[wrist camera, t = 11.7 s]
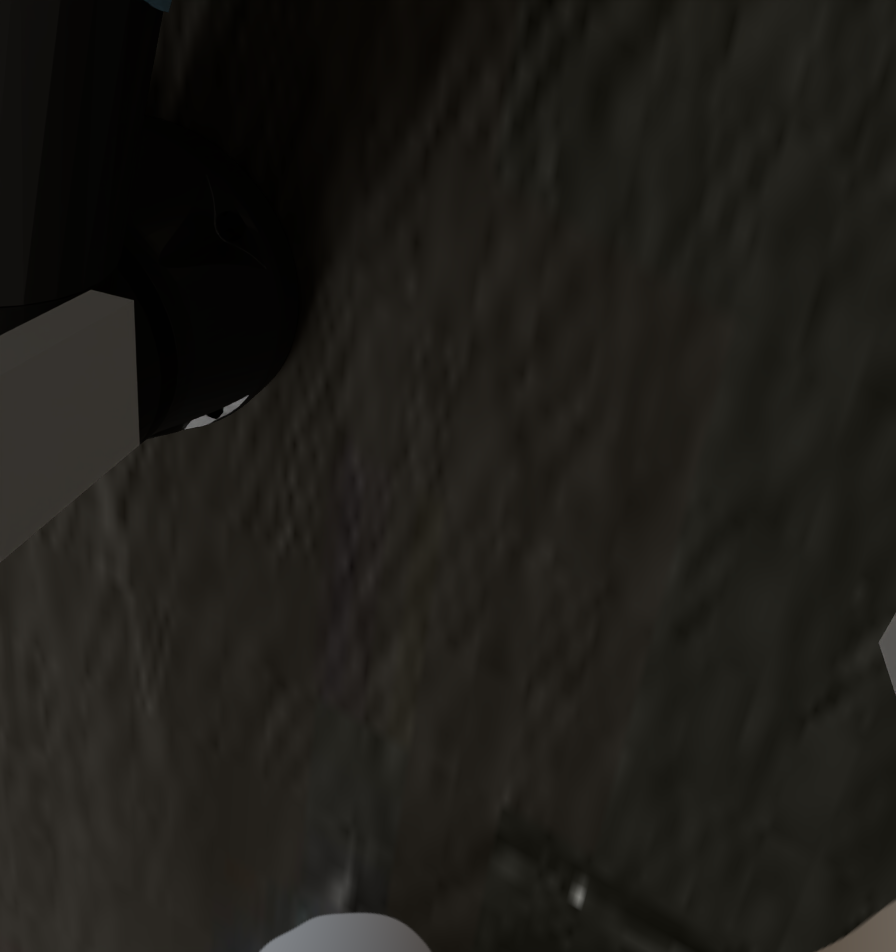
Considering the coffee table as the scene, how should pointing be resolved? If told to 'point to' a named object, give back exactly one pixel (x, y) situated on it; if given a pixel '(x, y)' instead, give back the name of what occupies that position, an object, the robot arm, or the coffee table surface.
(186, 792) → the coffee table surface
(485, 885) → the coffee table surface
